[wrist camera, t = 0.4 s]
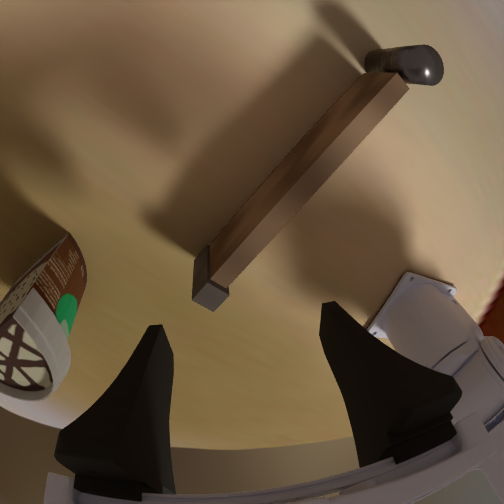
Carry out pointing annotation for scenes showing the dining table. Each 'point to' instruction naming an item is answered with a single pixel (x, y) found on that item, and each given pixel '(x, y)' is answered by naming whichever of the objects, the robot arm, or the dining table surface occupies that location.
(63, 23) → the dining table surface
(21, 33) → the dining table surface
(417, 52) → the hinge post
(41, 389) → the food container
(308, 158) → the brown long bar
